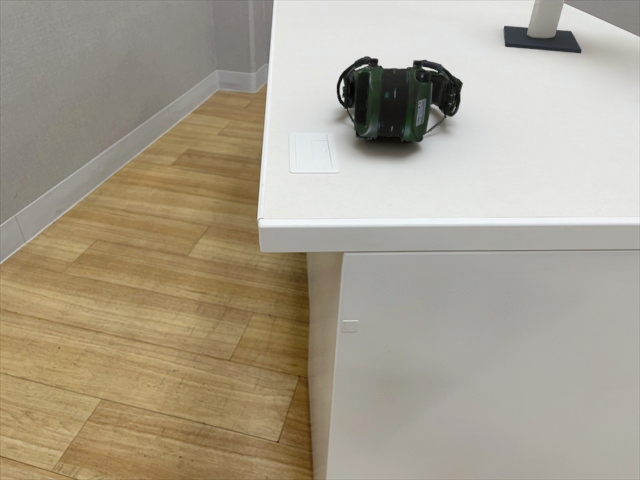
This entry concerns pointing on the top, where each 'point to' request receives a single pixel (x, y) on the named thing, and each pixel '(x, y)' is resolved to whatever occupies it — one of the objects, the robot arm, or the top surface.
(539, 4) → the eye dropper bottle
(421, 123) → the headphones
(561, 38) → the slate mat
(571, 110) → the top surface
